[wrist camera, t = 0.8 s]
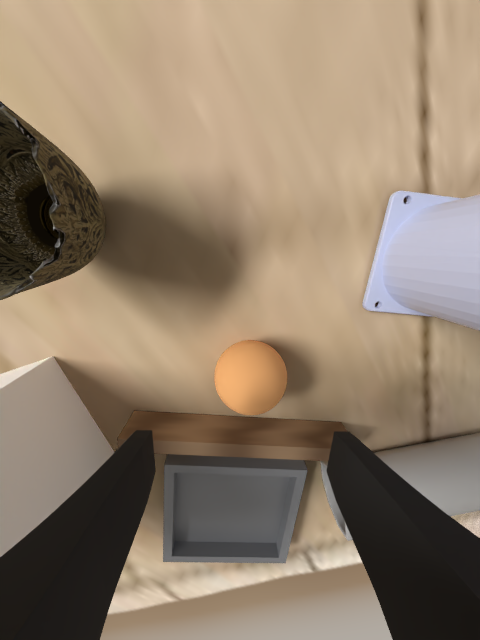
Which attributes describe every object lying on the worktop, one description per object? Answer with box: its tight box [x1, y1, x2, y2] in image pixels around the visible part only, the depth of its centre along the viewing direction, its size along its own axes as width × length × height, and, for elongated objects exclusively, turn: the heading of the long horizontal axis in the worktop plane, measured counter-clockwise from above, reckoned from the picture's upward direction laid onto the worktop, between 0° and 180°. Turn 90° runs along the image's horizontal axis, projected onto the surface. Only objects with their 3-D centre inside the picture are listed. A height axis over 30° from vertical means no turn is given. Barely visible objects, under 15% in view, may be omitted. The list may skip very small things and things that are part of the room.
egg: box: [215, 340, 287, 415], centre depth 16 cm, size 5×5×5 cm
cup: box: [0, 101, 106, 300], centre depth 11 cm, size 8×7×8 cm
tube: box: [320, 432, 480, 541], centre depth 20 cm, size 5×5×25 cm
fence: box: [117, 411, 347, 461], centre depth 19 cm, size 18×1×3 cm, turn 84°
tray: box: [163, 454, 308, 563], centre depth 22 cm, size 12×12×2 cm
